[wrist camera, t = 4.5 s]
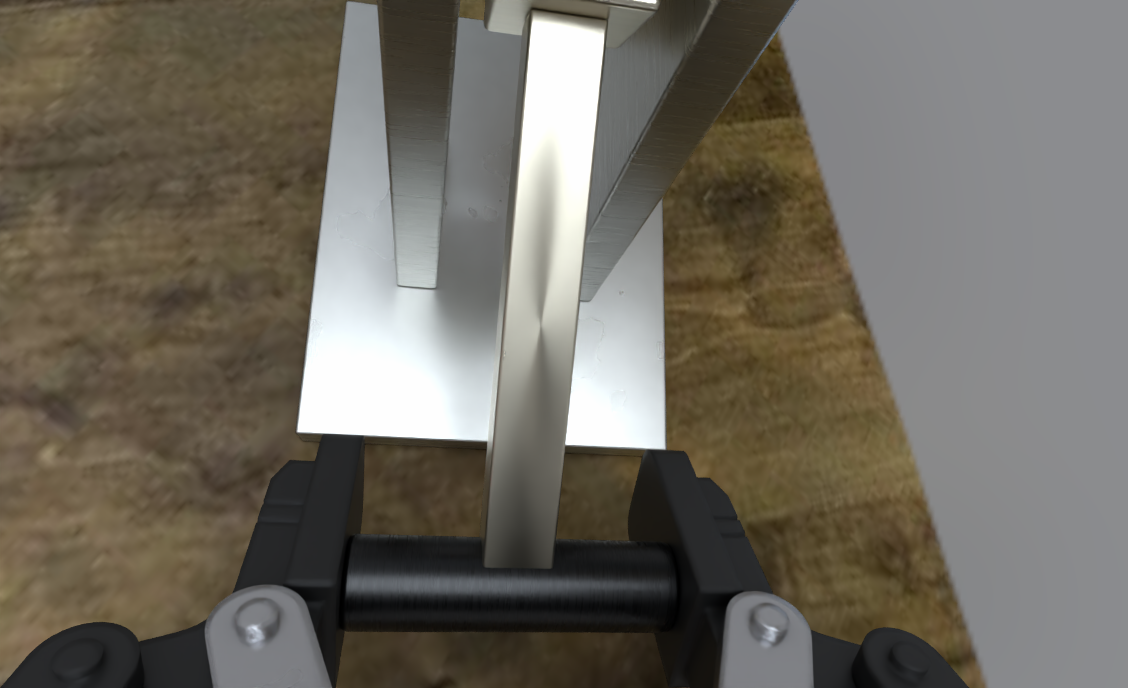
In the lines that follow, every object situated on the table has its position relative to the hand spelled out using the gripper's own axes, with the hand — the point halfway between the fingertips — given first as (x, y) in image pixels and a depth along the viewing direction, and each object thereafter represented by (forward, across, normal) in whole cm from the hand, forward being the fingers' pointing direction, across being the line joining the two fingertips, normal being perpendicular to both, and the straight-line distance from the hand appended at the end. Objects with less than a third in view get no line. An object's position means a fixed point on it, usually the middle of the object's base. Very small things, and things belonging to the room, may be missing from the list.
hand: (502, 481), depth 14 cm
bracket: (+9, 0, -2) cm, 9 cm away
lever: (0, 0, -5) cm, 5 cm away
